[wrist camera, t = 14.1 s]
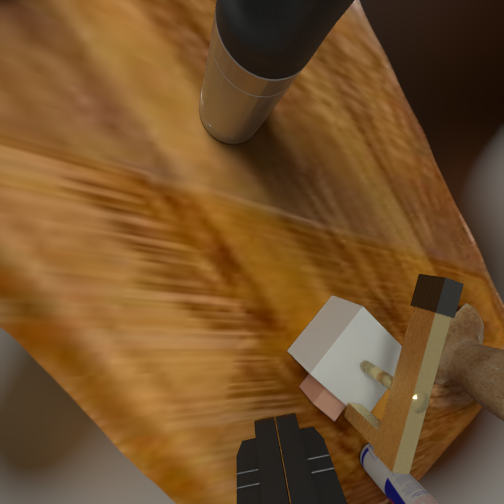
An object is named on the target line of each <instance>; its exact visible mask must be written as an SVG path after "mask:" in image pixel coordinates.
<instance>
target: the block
mask: <svg viewBox="0 0 504 504" xmlns="http://www.w3.org/2000/svg"><path fill="white" fill-rule="evenodd" d="M299 387H300V388H301V390H302V391H303V392H304V393H305V394H306V396H307V397H308V398H309V399H310V400H311V402H312V403H313V404H314V405H315V406H317V407H318V408H319V409H320V410H321V411H323V412H324V413H325V414H326V415H328V416H329V417H330V418H331V419H332V420H334V421H335V420H336V419H337V417H338V416H339V415H340V413H341V412H342V411H343V409H344V408H345V406H346V405H345V404H344V403H343V402H342V401H340V400H339V399H338V398H337V397H336V396H335V395H334V394H332V393H331V392H330V391H329V390H328V389H327V388H326V387H324V386H323V385H322V384H321V383H320V382H319V381H318V380H316V379H315V378H314V377H313V376H312V375H311V374H310V373H309V374H308V376H307V377H306V378H305V380H304V381H303V382H302V383H301V385H300V386H299Z"/></svg>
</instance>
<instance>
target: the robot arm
mask: <svg viewBox="0 0 504 504" xmlns="http://www.w3.org/2000/svg"><path fill="white" fill-rule="evenodd" d="M353 1H354V0H217V2H216V9H215V15H214V21H213V27H212V33H211V40H210V45H209V51H208V57H207V63H206V68H205V74H204V80H203V86H202V91H201V97H200V103H199V112H200V118H201V121H202V123H203V125H204V127H205V128H206V130H207V131H208V132H209V133H210V134H211V135H212V136H213V137H214V138H216V139H217V140H219V141H221V142H224V143H228V144H239V143H243V142H245V141H247V140H249V139H250V138H251V137H252V136H253V135H254V134H255V133H256V131H257V130H258V129H259V127H260V126H261V125H262V123H263V122H264V121H265V119H266V118H267V117H268V115H269V114H270V113H271V111H272V110H273V109H274V107H275V106H276V105H277V103H278V102H279V101H280V99H281V98H282V97H283V95H284V94H285V93H286V91H287V90H288V89H289V87H290V86H291V84H292V83H293V82H294V80H295V79H296V78H297V76H298V75H299V73H300V72H301V71H302V69H303V68H304V67H305V65H306V64H307V63H308V62H309V60H310V59H311V57H312V56H313V54H314V53H315V52H316V50H317V49H318V47H319V46H320V44H321V43H322V41H323V40H324V39H325V37H326V36H327V34H328V33H329V32H330V30H331V29H332V28H333V26H334V25H335V24H336V22H337V21H338V20H339V19H340V17H341V16H342V15H343V14H344V13H345V11H346V10H347V9H348V8H349V6H350V5H351V4H352V3H353ZM276 422H277V427H278V433H279V438H280V444H281V449H282V455H283V460H284V466H285V471H286V477H287V482H288V488H289V493H290V499H291V504H347V502H346V499H345V496H344V494H343V491H342V488H341V485H340V483H339V480H338V477H337V474H336V472H335V470H334V466H333V463H332V460H331V458H330V456H329V452H328V449H327V447H326V444H325V441H324V438H323V437H322V436H321V435H320V434H319V433H318V432H317V431H316V429H315V428H314V427H309V428H304V429H299V426H298V422H297V419H296V415H295V413H291V414H287V415H282V416H277V417H276ZM255 435H256V438H254V439H249V440H244V441H242V443H241V446H240V448H239V451H238V454H237V504H290V502H289V496H288V490H287V485H286V479H285V473H284V468H283V462H282V457H281V451H280V446H279V441H278V436H277V431H276V425H275V420H274V417H271V418H266V419H261V420H256V421H255Z"/></svg>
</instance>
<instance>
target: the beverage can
mask: <svg viewBox="0 0 504 504" xmlns="http://www.w3.org/2000/svg"><path fill="white" fill-rule="evenodd" d="M373 450H374V447H373V446H372V445H371V444H370V443H368V444H367V445H365V446H364V447H363V449H362V451H361V456H360V462H361V465H362V466H363V468H364V469H365V470H366V472H367V473H368V474H369V475H370V477H371V478H372V479H373V480H374V482H375V483H376V484H377V485H378V486H379V488H380V489H381V490H382V491H383V493H384V494H385V495H386V496H387V498H388V499H389V500H390V501H391V502H392V504H439V503H438V502H437V501H436V500H435V499H434V498H433V497H432V496H431V495H430V494H429V493H428V492H427V491H426V490H425V489H424V488H423V487H422V486H421V485H420V484H419V483H418V482H417V481H416V480H415V479H414V478H413V477H412V476H411V474H410V473H409V474H401V473H392V472H391V471H390V470H389V469H388V468H387V467H386V466H385V464H384V463H383V462H382V461H381V460H380V459H379V458H378V457H377V456H376V455H375V454H374V453H373Z"/></svg>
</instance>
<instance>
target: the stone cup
mask: <svg viewBox="0 0 504 504" xmlns="http://www.w3.org/2000/svg"><path fill="white" fill-rule="evenodd" d="M483 331H484V326H483V322H482V319H481V317H480V316H479V314H478V313H477V311H476V310H475V309H474V308H473V307H472V306H471V305H468V304H464V305H463V306H462V307H461V308H460V309H459V310H458V311H457V312H456V314H455V318H452V317H451V321H450V324H449V328H448V332H447V335H446V339H445V343H444V347H443V350H442V354H441V358H440V361H439V365H438V369H437V373H436V376H435V380H434V383H436V384H439V385H441V384H444V383H446V382H447V381H449V380H453V381H455V382H456V383H458V384H459V385H460V386H461V387H462V388H463V389H464V390H465V391H466V392H467V393H468V394H469V395H470V396H471V397H472V398H473V399H474V400H475V401H476V402H477V403H479V404H480V405H481V406H483V407H484V408H485V409H487V410H488V411H489V412H491V413H492V414H493V415H495V416H496V417H498V418H499V419H501V420H503V421H504V350H502V349H497V348H492V347H488V346H484V345H481V344H482V342H483V337H484V335H483Z"/></svg>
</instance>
